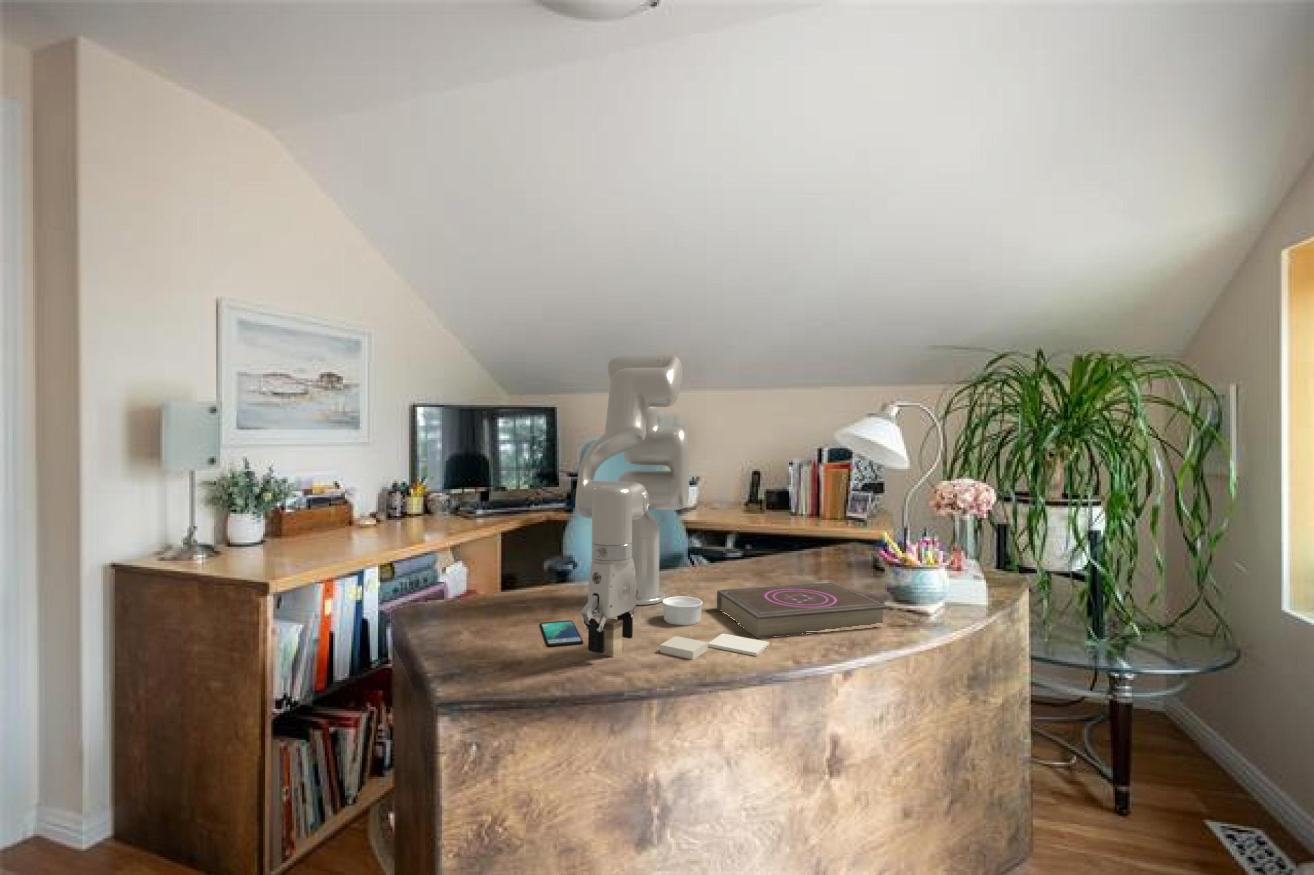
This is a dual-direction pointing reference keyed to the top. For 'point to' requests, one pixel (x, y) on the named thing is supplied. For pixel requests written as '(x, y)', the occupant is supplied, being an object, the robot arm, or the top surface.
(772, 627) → the book
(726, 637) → the mat
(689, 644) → the tile
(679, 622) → the ramekin
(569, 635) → the smartphone
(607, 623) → the small cardboard box
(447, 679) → the top surface
